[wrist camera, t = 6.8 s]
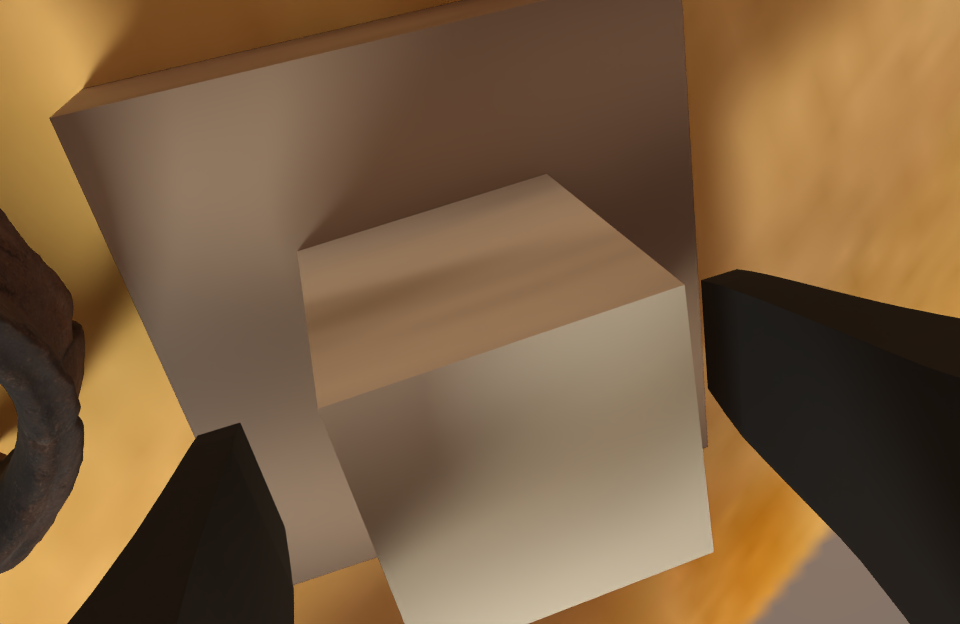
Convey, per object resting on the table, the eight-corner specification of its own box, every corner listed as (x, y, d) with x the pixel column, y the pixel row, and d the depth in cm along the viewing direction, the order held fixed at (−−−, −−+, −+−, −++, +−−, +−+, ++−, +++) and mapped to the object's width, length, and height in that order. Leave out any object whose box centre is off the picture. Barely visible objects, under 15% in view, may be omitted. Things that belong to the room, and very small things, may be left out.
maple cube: (586, 382, 16) (713, 551, 11) (373, 456, 15) (421, 664, 11) (546, 173, 14) (684, 284, 9) (297, 251, 13) (317, 408, 9)
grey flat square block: (648, 379, 20) (707, 446, 17) (265, 501, 19) (266, 594, 16) (607, -38, 15) (680, -33, 13) (88, 83, 14) (49, 117, 11)
